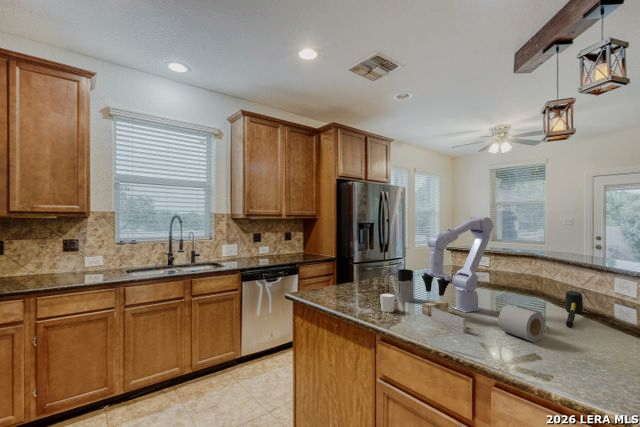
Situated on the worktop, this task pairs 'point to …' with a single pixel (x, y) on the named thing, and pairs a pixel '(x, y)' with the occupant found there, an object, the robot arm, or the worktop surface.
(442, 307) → the maple rail
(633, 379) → the worktop surface
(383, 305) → the shot glass
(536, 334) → the toilet paper
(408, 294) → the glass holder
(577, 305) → the mallet
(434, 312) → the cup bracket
